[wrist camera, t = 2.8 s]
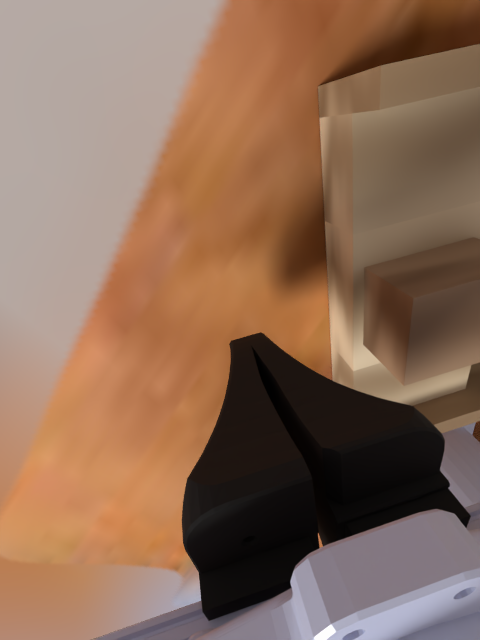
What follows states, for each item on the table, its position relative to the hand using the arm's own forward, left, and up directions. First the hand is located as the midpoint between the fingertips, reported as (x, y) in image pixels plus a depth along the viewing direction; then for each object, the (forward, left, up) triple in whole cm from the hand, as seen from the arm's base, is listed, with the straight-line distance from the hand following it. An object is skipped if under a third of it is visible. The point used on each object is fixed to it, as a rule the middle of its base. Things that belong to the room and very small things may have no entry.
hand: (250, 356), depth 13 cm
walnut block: (0, -8, -1) cm, 8 cm away
